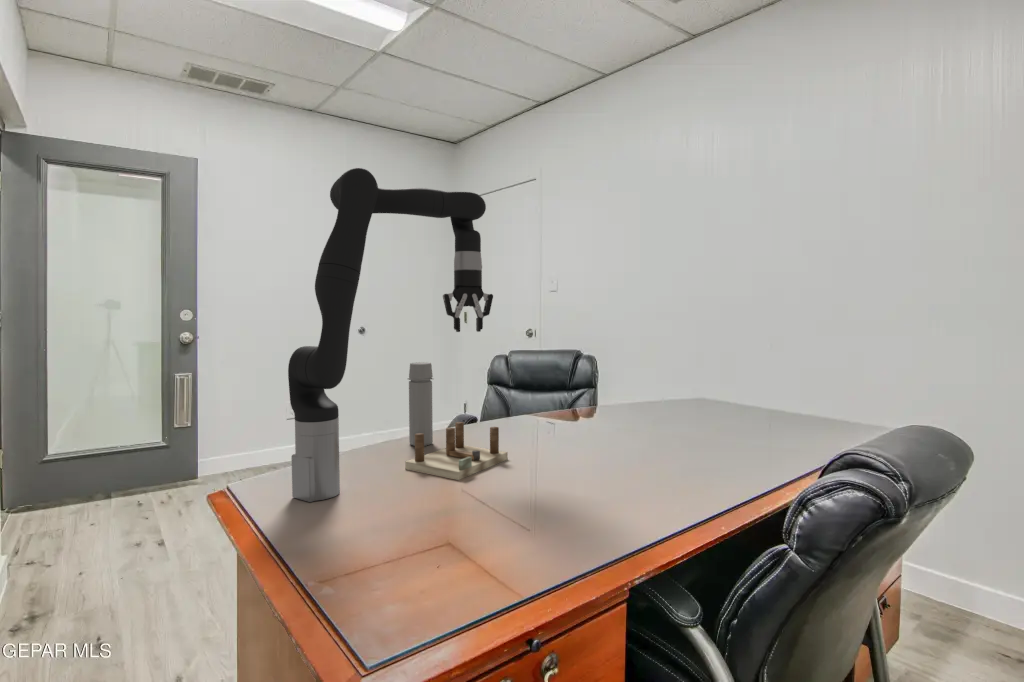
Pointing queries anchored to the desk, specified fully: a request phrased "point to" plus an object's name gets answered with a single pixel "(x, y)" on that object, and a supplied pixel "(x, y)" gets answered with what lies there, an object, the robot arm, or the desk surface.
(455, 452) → the swing leg
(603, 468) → the desk surface
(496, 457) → the stool frame
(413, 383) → the water bottle
